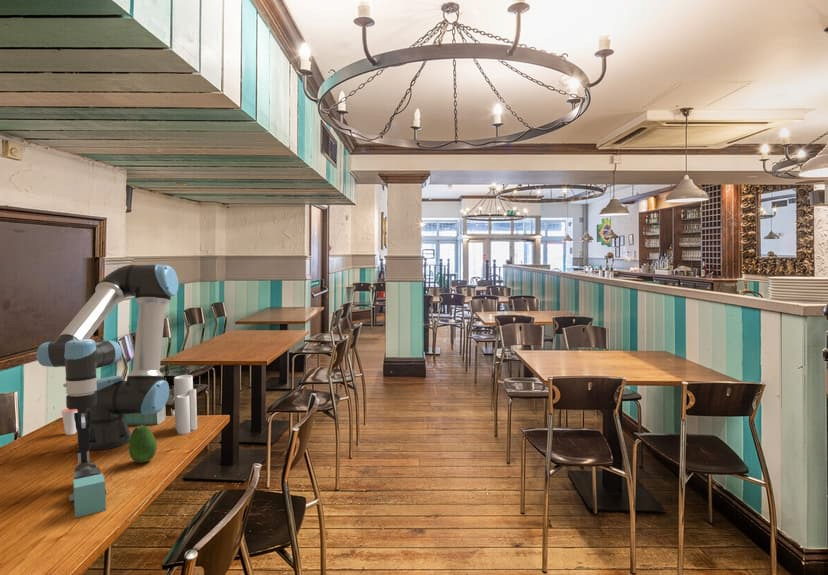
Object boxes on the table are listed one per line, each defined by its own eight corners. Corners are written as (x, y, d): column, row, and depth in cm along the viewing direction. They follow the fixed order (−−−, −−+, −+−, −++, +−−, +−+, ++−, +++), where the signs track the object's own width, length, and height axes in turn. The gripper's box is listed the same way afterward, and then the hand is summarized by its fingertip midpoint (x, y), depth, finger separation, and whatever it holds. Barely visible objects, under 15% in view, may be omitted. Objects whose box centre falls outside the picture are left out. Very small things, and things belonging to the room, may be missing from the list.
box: (133, 419, 208) (132, 401, 208) (166, 419, 209) (165, 401, 208) (123, 425, 201) (122, 407, 201) (157, 425, 201) (157, 406, 201)
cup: (82, 432, 193) (81, 400, 193) (69, 436, 188) (67, 404, 187) (72, 430, 195) (71, 399, 194) (58, 435, 190) (57, 403, 189)
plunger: (74, 483, 145) (73, 463, 145) (97, 478, 149) (96, 459, 148) (76, 505, 132) (75, 483, 132) (101, 499, 135) (101, 478, 135)
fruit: (158, 463, 162) (157, 426, 161) (130, 469, 157) (128, 431, 157) (156, 455, 168) (154, 420, 168) (128, 460, 164) (127, 424, 164)
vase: (173, 427, 198) (172, 376, 197) (193, 423, 202) (192, 374, 201) (178, 435, 189) (177, 382, 188) (199, 431, 193) (197, 379, 192)
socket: (74, 508, 132) (73, 479, 132) (103, 501, 136) (102, 473, 136) (75, 517, 127) (74, 487, 127) (105, 510, 131) (104, 481, 131)
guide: (69, 496, 139) (68, 473, 139) (104, 488, 144) (104, 465, 143) (69, 503, 135) (68, 478, 135) (106, 494, 140) (105, 471, 140)
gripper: (65, 390, 151) (68, 468, 152) (66, 399, 140) (69, 483, 141) (95, 387, 155) (97, 463, 156) (98, 395, 144) (100, 477, 145)
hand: (84, 472), depth 148 cm, fingers closed
